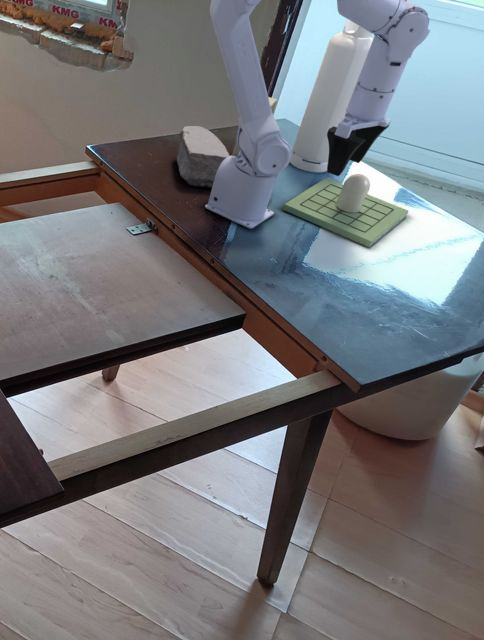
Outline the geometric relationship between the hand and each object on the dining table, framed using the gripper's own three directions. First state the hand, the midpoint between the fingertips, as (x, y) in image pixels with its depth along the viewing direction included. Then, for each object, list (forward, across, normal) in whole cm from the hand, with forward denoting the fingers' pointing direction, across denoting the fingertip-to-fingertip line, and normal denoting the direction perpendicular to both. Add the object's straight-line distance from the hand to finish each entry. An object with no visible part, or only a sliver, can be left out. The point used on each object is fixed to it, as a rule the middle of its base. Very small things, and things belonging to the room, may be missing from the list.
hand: (343, 166), depth 115 cm
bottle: (+10, +18, +12) cm, 24 cm away
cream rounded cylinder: (+8, +4, -2) cm, 9 cm away
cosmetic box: (+10, +8, +21) cm, 24 cm away
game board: (+9, +4, -2) cm, 10 cm away
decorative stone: (+10, -5, +24) cm, 26 cm away
